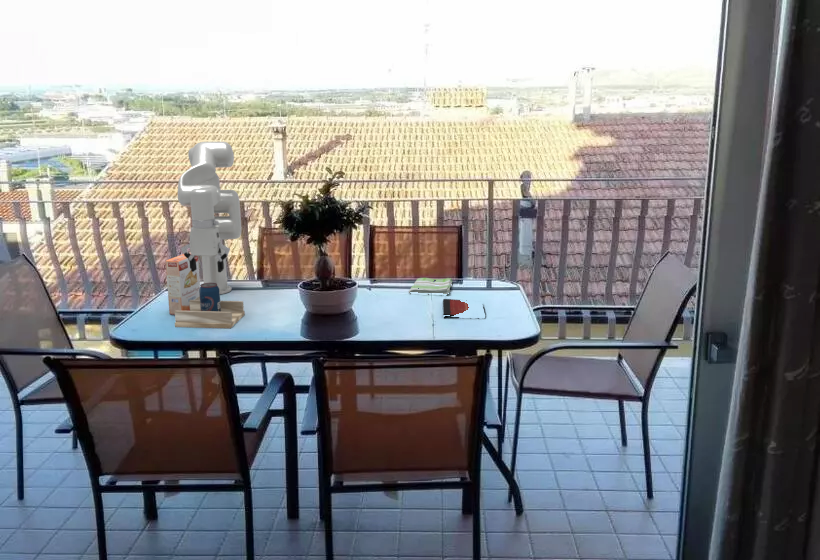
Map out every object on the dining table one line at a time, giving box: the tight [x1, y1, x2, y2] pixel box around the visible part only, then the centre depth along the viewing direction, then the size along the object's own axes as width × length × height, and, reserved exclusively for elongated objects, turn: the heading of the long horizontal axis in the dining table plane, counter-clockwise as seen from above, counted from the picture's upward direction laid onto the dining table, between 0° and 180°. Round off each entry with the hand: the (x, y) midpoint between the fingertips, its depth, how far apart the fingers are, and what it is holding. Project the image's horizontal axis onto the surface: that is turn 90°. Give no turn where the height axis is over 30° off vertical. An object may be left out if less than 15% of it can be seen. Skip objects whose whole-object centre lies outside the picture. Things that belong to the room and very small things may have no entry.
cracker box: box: [165, 253, 201, 316], centre depth 246 cm, size 14×6×21 cm, turn 168°
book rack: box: [174, 300, 246, 329], centre depth 235 cm, size 16×20×6 cm
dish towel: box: [408, 277, 454, 294], centre depth 281 cm, size 17×23×4 cm
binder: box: [442, 298, 469, 316], centre depth 250 cm, size 16×2×21 cm
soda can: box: [199, 282, 221, 311], centre depth 234 cm, size 7×7×12 cm
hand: (207, 271), depth 232 cm, fingers open, 9 cm apart
